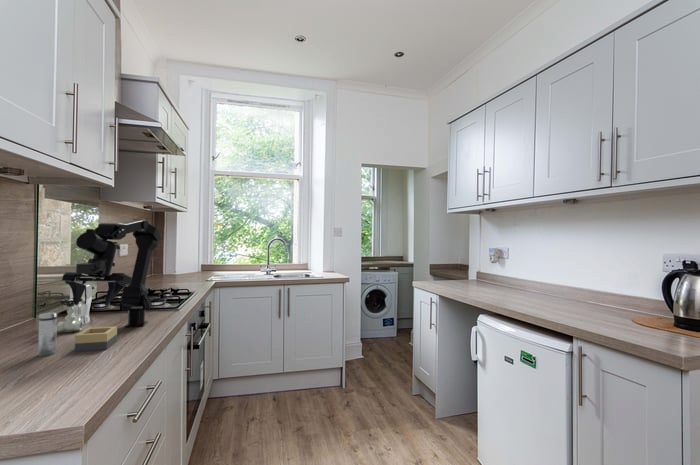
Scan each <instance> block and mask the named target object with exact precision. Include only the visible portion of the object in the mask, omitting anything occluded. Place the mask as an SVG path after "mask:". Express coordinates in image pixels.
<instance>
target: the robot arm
mask: <svg viewBox="0 0 700 465" xmlns="http://www.w3.org/2000/svg"><path fill="white" fill-rule="evenodd" d="M85 231H86V232H83V233H82V234H80V235H79V236H78V238H76V241H75V244H76V245H77V247H78V248H79V249H82V250H83V251H86V252H88V253H89V254H92V255H93V256H92V258H89V259H88V261H87V262H83V263H76V267H75V271H76V272H72V271H71V272H65V273H64V274H63V275H62V277H61V281H62V282H65V284H67V285H68V286H69V287H70V290H71V289H72V293H73V299H74V305H78V304H79V302H80V300H81V297H82V295H83V292H84V290H85V287H86V285H87V284H86V283H87V282H100V283H101V282H107V285H108V289H107V293H106V297H105V299H104V306H109V304H110V303H111V302H112V301H113V300H114V299H115V297H116V296H117V295H118V294H119V293H120V292H121V291H122V293H121V296H120V305H121V310H122V311H127V314H128V315H127V323H126V324H125V325H124V328H130V327H131V328H132V327H133V328H134V327H144V326H145V325H146V324H147V323H148V320H146V311H147V310H151V307H152V301H151V300H150V298H149V296H148V295H149V294H148V293H149V292H148V289H147V288H146V280H147V276H148V272H149V267H150V262H151V256H152V253H153V251H154V250H155V249H156V248H157V247H158V245H159V242H160V240H161V234H160V232H159V230H158V229H157V227H155V226H153V225H152V224H150V223H149V222H148V221H147V219H140V218H139V219H137V218H136V219H132V220H129V221H128V220H127V221H124V222H120V223H118V222H117V223H110V222H106V223H105V222H103V223H102V222H100V223H99V224H97V227H95V229H94V228H87V229H86V230H85ZM131 233H132V236H133V237H134V239H135V244H136V246H137V248H138V249H137V253H136V258H135V262H134V267H133V271H132V275H128V274H126V273H124V272H112V268H113V267H115V265H116V263H114V260H115V256H116V252H117V250H120V249H121V246H120V245H119V244H118V242H117V241H120V240H122V239H125V237H126V236H127V234H131ZM114 240H115V241H114ZM111 272H112V273H111Z"/></svg>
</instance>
